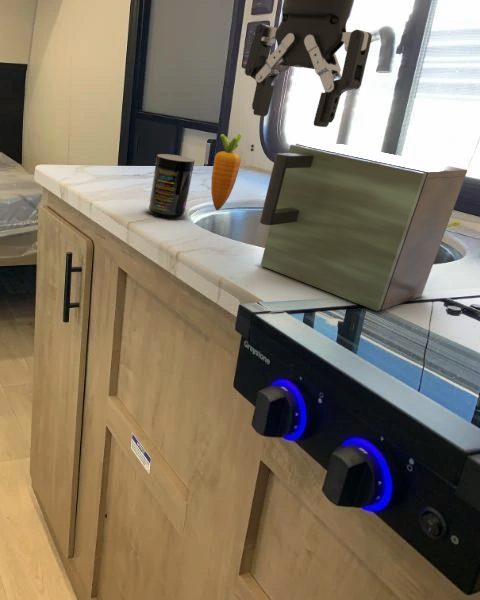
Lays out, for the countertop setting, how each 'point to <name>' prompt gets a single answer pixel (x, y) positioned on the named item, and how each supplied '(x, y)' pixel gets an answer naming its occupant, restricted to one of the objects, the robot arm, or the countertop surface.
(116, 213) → the countertop surface
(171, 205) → the supplement container
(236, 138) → the carrot
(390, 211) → the cupboard door
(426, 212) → the cupboard
